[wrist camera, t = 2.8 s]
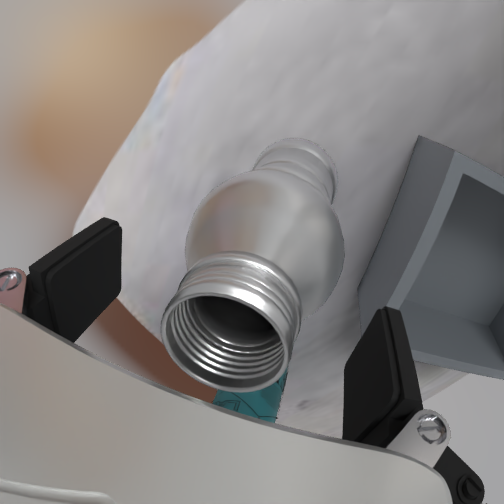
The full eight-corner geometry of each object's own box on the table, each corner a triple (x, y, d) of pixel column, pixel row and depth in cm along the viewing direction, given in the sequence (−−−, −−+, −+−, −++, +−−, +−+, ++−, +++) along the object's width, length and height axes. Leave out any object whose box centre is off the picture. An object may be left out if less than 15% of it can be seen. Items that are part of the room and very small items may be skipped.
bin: (418, 135, 21) (455, 150, 14) (551, 210, 20) (596, 244, 13) (357, 288, 29) (362, 346, 22) (486, 329, 27) (509, 380, 20)
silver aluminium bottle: (248, 197, 27) (115, 370, 10) (273, 122, 24) (123, 187, 7) (319, 224, 27) (287, 440, 9) (349, 151, 24) (403, 296, 6)
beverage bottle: (303, 354, 34) (268, 527, 16) (263, 377, 37) (216, 527, 20) (261, 319, 33) (197, 498, 16) (223, 346, 36) (154, 498, 19)
